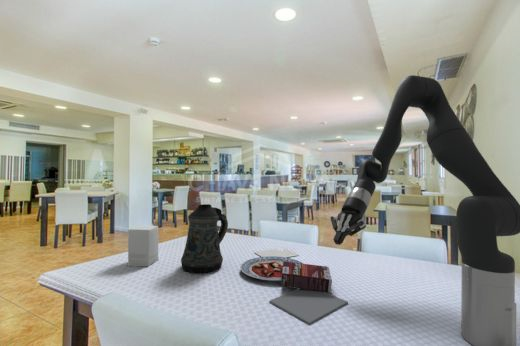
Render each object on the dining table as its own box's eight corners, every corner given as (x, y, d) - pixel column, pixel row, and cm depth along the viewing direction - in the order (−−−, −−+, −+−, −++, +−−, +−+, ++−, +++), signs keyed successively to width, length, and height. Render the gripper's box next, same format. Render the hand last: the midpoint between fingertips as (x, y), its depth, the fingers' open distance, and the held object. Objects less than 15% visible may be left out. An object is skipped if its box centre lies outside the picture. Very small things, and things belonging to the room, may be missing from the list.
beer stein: (172, 271, 102) (172, 206, 102) (198, 256, 121) (198, 201, 121) (210, 276, 97) (211, 208, 97) (232, 260, 116) (232, 203, 116)
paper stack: (244, 248, 136) (245, 247, 136) (285, 242, 148) (285, 241, 148) (267, 261, 116) (267, 260, 116) (313, 254, 127) (313, 252, 127)
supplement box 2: (159, 259, 116) (159, 225, 116) (148, 267, 107) (148, 229, 107) (139, 259, 117) (139, 224, 117) (127, 266, 108) (127, 229, 108)
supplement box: (332, 279, 83) (281, 273, 85) (331, 293, 84) (280, 287, 86) (329, 265, 92) (283, 260, 94) (327, 278, 93) (282, 273, 95)
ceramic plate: (249, 289, 87) (249, 280, 87) (235, 264, 112) (235, 257, 112) (319, 282, 94) (319, 273, 94) (291, 259, 119) (292, 252, 119)
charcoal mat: (347, 303, 78) (347, 301, 78) (309, 324, 67) (309, 322, 67) (308, 286, 90) (308, 285, 90) (269, 302, 78) (269, 300, 78)
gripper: (336, 194, 98) (315, 232, 90) (371, 197, 88) (350, 240, 80) (344, 208, 101) (324, 245, 93) (378, 212, 91) (359, 254, 83)
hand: (336, 243), depth 86 cm, fingers closed
